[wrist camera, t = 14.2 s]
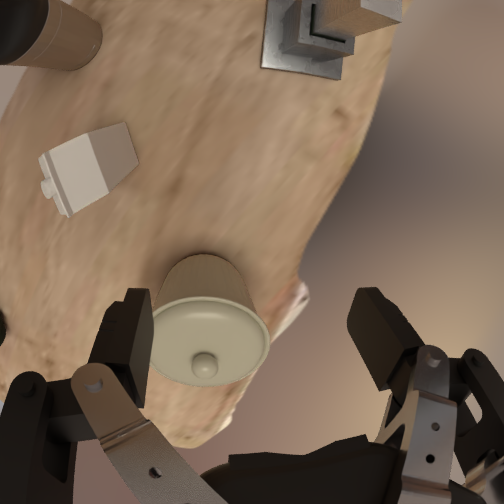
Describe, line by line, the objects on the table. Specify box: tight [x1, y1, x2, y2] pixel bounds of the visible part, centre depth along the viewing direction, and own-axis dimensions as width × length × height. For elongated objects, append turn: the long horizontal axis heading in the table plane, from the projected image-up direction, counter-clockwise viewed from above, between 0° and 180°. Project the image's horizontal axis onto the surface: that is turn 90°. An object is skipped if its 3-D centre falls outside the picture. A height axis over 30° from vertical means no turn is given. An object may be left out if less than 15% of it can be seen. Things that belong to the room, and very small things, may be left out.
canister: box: [149, 254, 270, 387], centre depth 44 cm, size 18×18×21 cm
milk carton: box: [38, 122, 139, 218], centre depth 31 cm, size 7×7×19 cm
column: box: [309, 0, 402, 42], centre depth 22 cm, size 4×4×16 cm
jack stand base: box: [260, 0, 355, 80], centre depth 30 cm, size 12×12×10 cm
